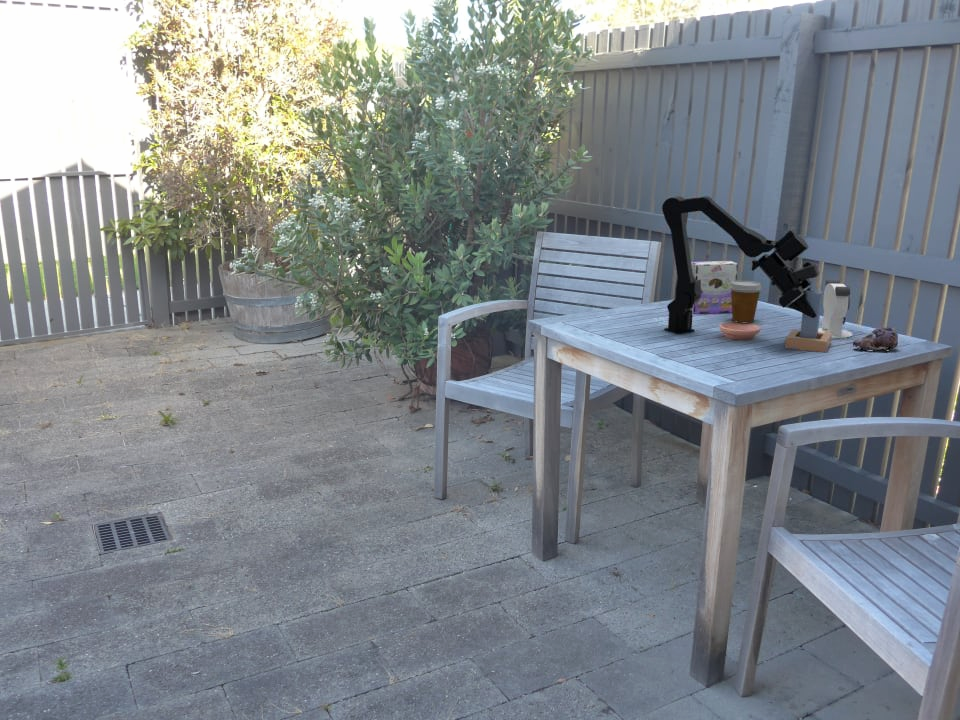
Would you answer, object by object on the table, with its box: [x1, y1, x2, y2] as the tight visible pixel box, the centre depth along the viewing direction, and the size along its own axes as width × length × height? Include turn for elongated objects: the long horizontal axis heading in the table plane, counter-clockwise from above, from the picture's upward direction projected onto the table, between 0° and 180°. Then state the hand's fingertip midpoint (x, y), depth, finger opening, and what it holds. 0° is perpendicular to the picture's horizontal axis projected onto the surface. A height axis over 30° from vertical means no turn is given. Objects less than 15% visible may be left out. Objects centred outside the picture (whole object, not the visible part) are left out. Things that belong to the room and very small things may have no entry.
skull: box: [852, 326, 899, 352], centre depth 228 cm, size 12×8×6 cm, turn 90°
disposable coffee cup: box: [730, 280, 763, 324], centre depth 260 cm, size 10×10×12 cm
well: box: [784, 329, 833, 353], centre depth 232 cm, size 10×10×3 cm
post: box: [800, 289, 823, 339], centre depth 230 cm, size 4×4×13 cm
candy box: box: [690, 260, 739, 315], centre depth 273 cm, size 14×6×16 cm, turn 94°
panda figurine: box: [818, 280, 853, 340], centre depth 243 cm, size 12×11×15 cm
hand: (816, 315), depth 230 cm, fingers closed on post, 4 cm apart
